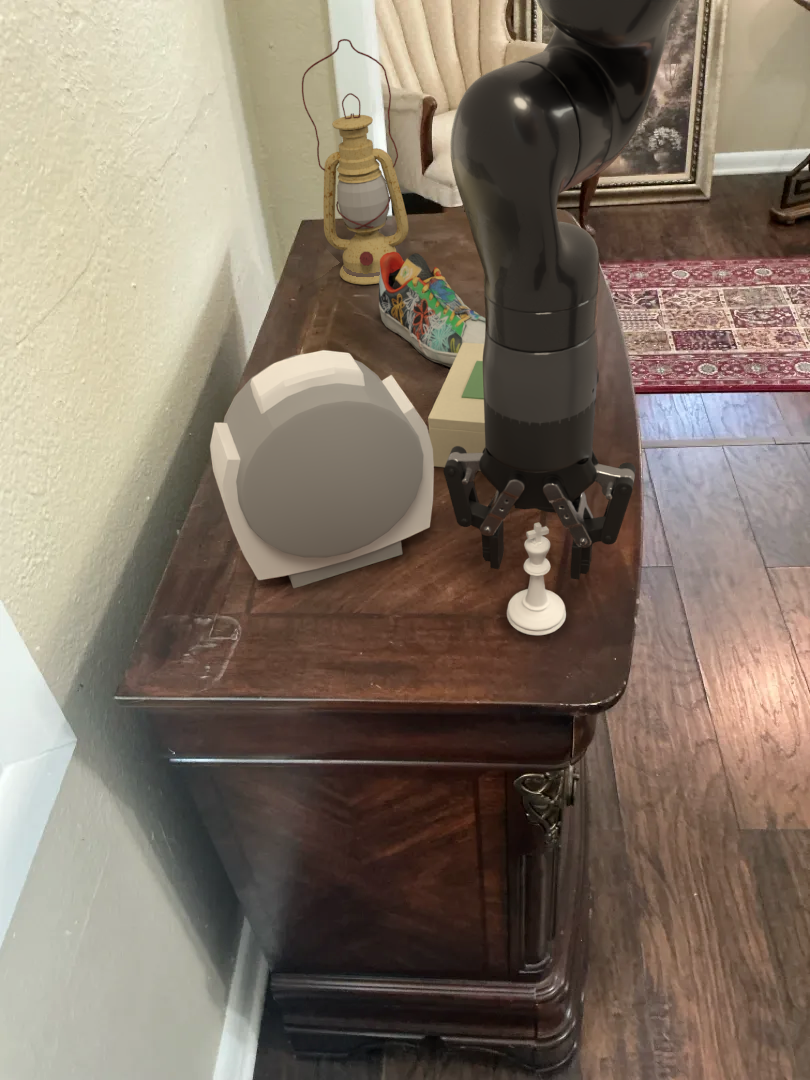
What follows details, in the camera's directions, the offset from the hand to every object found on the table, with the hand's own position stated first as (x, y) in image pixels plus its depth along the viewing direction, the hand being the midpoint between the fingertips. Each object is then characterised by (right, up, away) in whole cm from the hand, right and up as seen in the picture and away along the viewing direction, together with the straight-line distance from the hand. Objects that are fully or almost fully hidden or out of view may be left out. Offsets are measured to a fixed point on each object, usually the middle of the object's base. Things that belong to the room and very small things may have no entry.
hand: (536, 566), depth 69 cm
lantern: (-15, +41, +56) cm, 71 cm away
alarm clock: (-17, +1, +12) cm, 20 cm away
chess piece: (+1, -4, +4) cm, 6 cm away
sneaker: (-6, +27, +39) cm, 48 cm away
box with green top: (0, +14, +24) cm, 28 cm away
